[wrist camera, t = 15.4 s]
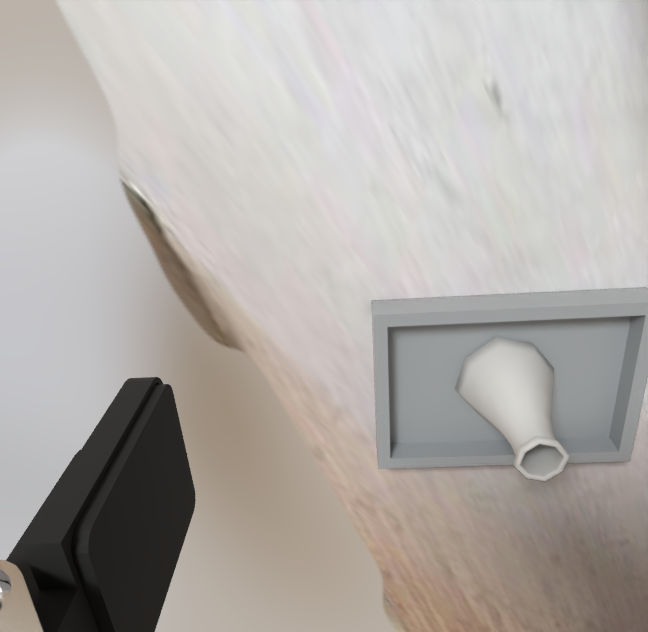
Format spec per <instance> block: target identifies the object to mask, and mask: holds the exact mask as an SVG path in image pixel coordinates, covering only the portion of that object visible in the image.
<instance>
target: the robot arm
mask: <svg viewBox="0 0 648 632" xmlns="http://www.w3.org/2000/svg"><path fill="white" fill-rule="evenodd" d="M194 508H195V490H194V485H193V480H192V476H191V471H190V467H189V462H188V458H187V453H186V449H185V444H184V440H183V435H182V431H181V426H180V422H179V417H178V412H177V408H176V404H175V399H174V394H173V390H172V387H171V386H170V385H168V384H163V383H162V381H161V379H160V378H158V377H150V378H130V379H128V380H127V381H126V382H125V383H124V385H123V386H122V388H121V389H120V391H119V393H118V394H117V396H116V397H115V399H114V400H113V402H112V403H111V405H110V406H109V408H108V409H107V411H106V413H105V414H104V416H103V417H102V419H101V420H100V422H99V423H98V425H97V426H96V428H95V429H94V431H93V433H92V434H91V436H90V437H89V439H88V440H87V442H86V443H85V445H84V446H83V448H82V450H79V452H78V453H77V454H76V455H75V456H74V458H73V459H72V461H71V462H70V464H69V465H68V467H67V468H66V470H65V471H64V473H63V474H62V476H61V478H60V479H59V481H58V482H57V483H56V485H55V486H54V488H53V490H52V491H51V493H50V494H49V496H48V497H47V499H46V500H45V502H44V503H43V505H42V506H41V508H40V509H39V511H38V512H37V514H36V516H35V517H34V519H33V520H32V522H31V523H30V525H29V526H28V528H27V529H26V531H25V532H24V534H23V536H22V537H21V538H20V540H19V542H18V543H17V545H16V546H15V548H14V549H13V551H12V552H11V554H10V555H9V557H8V558H7V560H0V632H154V631H155V629H156V625H157V622H158V619H159V616H160V613H161V610H162V607H163V604H164V601H165V598H166V595H167V592H168V588H169V586H170V582H171V579H172V576H173V573H174V570H175V567H176V564H177V561H178V558H179V555H180V551H181V549H182V546H183V543H184V539H185V536H186V533H187V530H188V527H189V524H190V521H191V518H192V515H193V511H194Z"/></svg>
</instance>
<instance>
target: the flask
mask: <svg viewBox="0 0 648 632" xmlns="http://www.w3.org/2000/svg"><path fill="white" fill-rule="evenodd" d="M553 379H554V367H553V366H552V365H551V364H550V363H549V361H548V360H547V359H546V358H545V357H544V356H543V354H542V353H541V352H540V351H539V350H538V348H537V347H536V346H535V345H534V344H533V343H528V342H522V341H517V340H512V339H507V338H501V337H495V338H494V339H493V340H491V341H490V342H488V343H487V344H485V345H484V346H483V347H481V348H480V349H478V350H477V351H475V352H474V353H472V354H471V355H470V356H468V357H467V358H465V361H464V364H463V367H462V370H461V373H460V376H459V378H458V381H457V384H456V387H455V390H456V391H457V392H458V393H459V394H460V395H461V396H462V397H463V398H464V399H465V400H466V401H467V403H468V404H469V405H470V406H471V407H472V408H473V409H474V410H475V411H476V412H477V413H478V414H479V415H480V416H482V417H483V418H484V419H485V420H487V421H488V422H489V423H491V424H492V425H493V426H494V427H495V428H497V429H498V430H499V431H500V432H501V433H502V434H503V435H504V436H505V437H506V439H507V440H508V442H509V443H510V444H511V446H512V448H513V451H514V453H515V455H516V457H515V460H514V466H515V467H516V468H517V469H518V470H519V472H520V473H521V474H522V475H523V476H524V477H525V478H526V479H532V480H537V481H543V482H546V481H548V480H549V479H551V478H553V477H554V476H556V475H558V474H560V473H561V472H563V470H564V468H565V466H566V464H567V461H568V459H569V457H570V455H569V454H568V452H567V451H566V450H565V449H564V448H563V447H562V446H561V445H560V444H559V442H558V441H557V440H556V439H555V437H554V432H553V427H552V423H551V402H552V388H553Z"/></svg>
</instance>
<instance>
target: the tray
mask: <svg viewBox="0 0 648 632" xmlns="http://www.w3.org/2000/svg"><path fill="white" fill-rule="evenodd" d="M372 326H373V354H374V381H375V409H376V437H377V457H378V469H388V468H421V467H455V466H489V465H514V460H515V457H516V455H515V453H514V451H513V448H512V446H511V444H510V443H509V442H508V440H507V439H506V437H505V436H504V435H503V434H502V433H501V432H500V431H499V430H498V429H497V428H495V427H494V426H493V425H492V424H491V423H489V422H488V421H487V420H485V419H484V418H483V417H482V416H480V415H479V414H478V413H477V412H476V411H475V410H474V409H473V408H472V407H471V406H470V405H469V404H468V403H467V401H466V400H465V399H464V398H463V397H462V396H461V395H460V394H459V393H458V392H457V391H456V390H455V387H456V384H457V381H458V378H459V376H460V373H461V370H462V367H463V364H464V361H465V358H467V357H468V356H470V355H471V354H472V353H474V352H475V351H477V350H478V349H480V348H481V347H483V346H484V345H485V344H487V343H488V342H490V341H491V340H493V339H494V338H495V337H501V338H507V339H512V340H517V341H522V342H528V343H533V344H534V345H535V346H536V347H537V348H538V350H539V351H540V352H541V353H542V354H543V356H544V357H545V358H546V359H547V360H548V361H549V363H550V364H551V365H552V366H553V367H554V379H553V388H552V402H551V423H552V427H553V432H554V437H555V439H556V440H557V441H558V442H559V444H560V445H561V446H562V447H563V448H564V449H565V450H566V451H567V452H568V454H569V455H570V457H569V459H568V461H567V463H591V462H624V461H630V459H631V454H632V449H633V445H634V440H635V435H636V430H637V425H638V421H639V416H640V411H641V406H642V401H643V397H644V392H645V387H646V382H647V377H648V289H647V288H646V287H645V288H624V289H603V290H582V291H562V292H541V293H520V294H499V295H478V296H458V297H437V298H416V299H395V300H374V301H372Z"/></svg>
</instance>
